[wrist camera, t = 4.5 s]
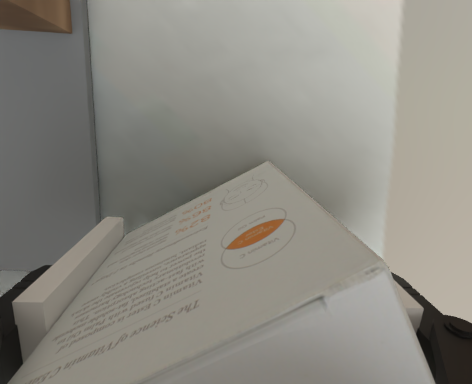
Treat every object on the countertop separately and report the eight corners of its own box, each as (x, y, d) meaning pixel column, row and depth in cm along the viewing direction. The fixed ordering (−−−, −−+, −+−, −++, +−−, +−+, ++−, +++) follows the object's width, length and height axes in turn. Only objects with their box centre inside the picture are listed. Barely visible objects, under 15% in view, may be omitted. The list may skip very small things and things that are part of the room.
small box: (181, 316, 16) (112, 663, 6) (124, 230, 15) (-91, 489, 5) (316, 252, 16) (497, 513, 5) (271, 156, 14) (398, 264, 4)
